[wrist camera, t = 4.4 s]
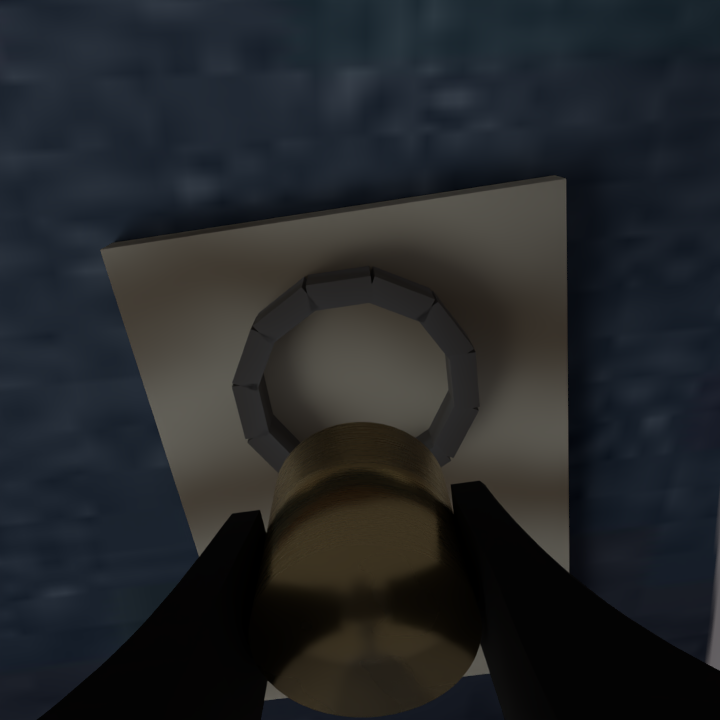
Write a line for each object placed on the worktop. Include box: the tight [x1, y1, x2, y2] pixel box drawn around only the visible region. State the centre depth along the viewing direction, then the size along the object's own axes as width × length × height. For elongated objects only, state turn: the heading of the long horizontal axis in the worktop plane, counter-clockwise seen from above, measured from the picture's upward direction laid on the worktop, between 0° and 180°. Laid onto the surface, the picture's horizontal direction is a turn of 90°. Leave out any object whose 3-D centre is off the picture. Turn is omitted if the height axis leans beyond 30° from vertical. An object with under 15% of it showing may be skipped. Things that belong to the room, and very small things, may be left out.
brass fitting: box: [248, 422, 482, 717], centre depth 12 cm, size 4×4×4 cm
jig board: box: [100, 175, 569, 700], centre depth 21 cm, size 20×14×2 cm
